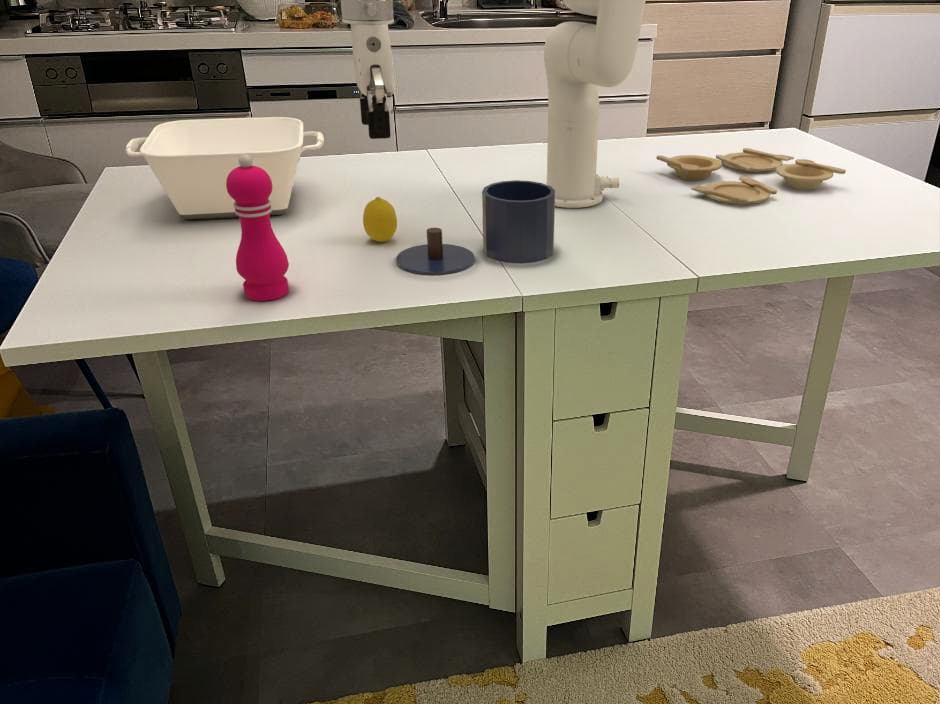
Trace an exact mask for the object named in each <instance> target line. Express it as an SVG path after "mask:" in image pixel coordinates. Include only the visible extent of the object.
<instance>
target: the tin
mask: <svg viewBox="0 0 940 704" xmlns="http://www.w3.org/2000/svg"><path fill="white" fill-rule="evenodd" d="M481 201H482V251H483V253H484V255H485V256H486V257H488V258H490V259H491V260H494V261H497V262H501V263H506V264H521V265H522V264H532V263H538V262H541V261H545V260H547V259H549V258H550V257H551V256H553V255H554V247H555V245H554V244H555V243H554V242H555V217H556V216H555V212H556V210H555V209H556V208H555V207H556V206H555V190H554V189H553V188H552V187H551V186H548V185H547V183H546V184H545V183H543V182H538V181H532V180H519V179H518V180H517V179H516V180H502V181H498V182H493V183H490V184H487V185H485V186H484V187H483V189H482V191H481Z"/></svg>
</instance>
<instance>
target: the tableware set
mask: <svg viewBox="0 0 940 704" xmlns="http://www.w3.org/2000/svg"><path fill="white" fill-rule="evenodd" d="M655 158H656V160H657V161H660V162H664V163H666V165H667V167H669V168H670V169H673V170H674V172H675V174H676V175H677V177H678V178H680V179H683V180H688V181H702V180H705V179H706V180H707V179H708V178H709V177H710V175H711V174H712V172H715V171H718V170H720V169H721V168H722V164H723V165H724V166H726V167H728V168H732V169H735V170H738V171H744V172H751V173H754V172H755V173H761V172H762V173H763V172H770V171H774V170H775V173H776V174H777V175H778V176H780V177H781V178H783V180H784V183H785V185H786V186H787V187H789V188H792V189H796V190H804V191H809V190H815V189H818V188H819V187H820V186H821V184H822V183H823V182H824V181H828V180H831V179H832V178H833V177H834V174H838V175H844V174H846V172H847V170H846V169H845V168H841V167H836V166H831V165H827V164H826V165H825V164H821V163H817V162H815V161H813V160H811V159H805V158H798V159H795V156H790V155H786V154H775V153H770V152H765V151H762V150H758V149H753V148H749V147H744V148H742V151H741V152H731V153H727V154H724V155H722V154H716V155H715V158H714V157H709V156H704V155H698V154H697V155H696V154H683V155H675V156H673V157H668V156H665V155H660V154H658V155H656V157H655ZM794 159H795V161H794V162H795V163H788V164H783V162H789V161H791V160H794ZM690 190H692V191H694V192H697V193H700V194H703V195H705V196H706V197H707V198H710V199H713V200H716V201H719V202H723V203H727V204H735V205H736V204H737V205H747V204H748V205H749V204H756V203H762V202H764V201H766V200H768V199H770V197H771V195H776V194H777V193H778V190H777V189H775V188H773V187H771V186H769V185H767V184H765V183H763V182H761V181H758V180H757V179H755V178H752V177H749V176H746V175H741V176H739V177H738V181H734V180H733V181H731V180H730V181H729V180H725V181H723V180H722V181H716V182H711V183H707V184H706V185H701V184H698V185H695V186H692V187H690Z"/></svg>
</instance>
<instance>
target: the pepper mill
mask: <svg viewBox="0 0 940 704" xmlns="http://www.w3.org/2000/svg"><path fill="white" fill-rule="evenodd" d="M239 164H240V167H237V168H235V169H233V170H232V171H231V172H230V173H229V175H228V177H227V180H226V188H227V192H228V194H229V195H230V196H231V197H232V198H233V199H234V200H235V201H236V202H235V203H234V205H233V206H234V207H235V214H236V215H238V216H239V217H238V219H239V222H240V231H241V236H240V241H239V245H238V248H237V251H236V256H235V268H236V272H237V274H238V276H240V277H241V278H242V279H243V280H244V281H243V282H242V287H243V292H244V296H245V298H247V299H249V300H251V301H256V302H268V301H275V300H279V299H281V298H283V297H285V296H287V295H288V293H289V291H290V287H289V280H288V278H287V277H286V276H285V275H286V273H287V272H288V270H289V267H290V263H289V258H288V256H287V253H286V251H285V249H284V248H283V245H282V244H281V242H280V241H279V239H278V238H277V236H276V234H275V233H274V230H273V227H272V223H271V215H270V213H271V212H272V207H271V201H270V200H269V199H268V198H269V196H270V194H271V193H272V181H271V178H270V176H269V175H268V173H267V172H266V171H265V170H263V169H262V168H260V167H257V166H252V159H251V157H250V156H248V155H242V156H240V157H239Z"/></svg>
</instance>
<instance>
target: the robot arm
mask: <svg viewBox="0 0 940 704" xmlns="http://www.w3.org/2000/svg"><path fill="white" fill-rule="evenodd" d="M646 1H647V0H563V3H564V5H565V6H566V7H567V8H568V9H570V10H571V11H572V12H575V13H577V14H582V15H587V16H592V17H593V16H594V17H596V23H595V24H594V23H587V22H582V21H573V20H572V21H563V22H561V23H559V24H557V25H555V26H554V27H553V28H552V29H551V30H550V32H549V33H548V35H547V36H546V38H545V43H544V46H543V60H544V67H545V74H546V81H547V96H548V98H547V99H548V100H547V101H548V103H547V105H548V107H547V109H548V110H547V147H546V148H547V150H546V151H547V152H546V159H547V160H546V185H548V186H551V187H552V188H553V189H554V190H555V207H557V208H558V207H559V208H567V209H571V208H572V209H578V208H588V207H592V206H596V205H598V204H600V203H601V202H603V198H604V193H603V191H604V190H605V189H618V188H619V187H620V179H619V177H610V178H609V176H608V175H604V176H602V175H601V176H599V175H598V174H597V163H598V161H597V160H598V145H599V144H598V143H599V127H600V126H599V125H600V110H601V109H600V98H599V92H598V89H597V86H598V87H604V88H614V87H617V86H619V85H621V84H622V83H623V82H625V80H626V79H627V78H628V76H629V74H630V73H631V71H632V69H633V65H634V62H635V58H636V54H637V49H638V43H639V38H640V32H641V27H642V24H643V17H644V12H645V8H646ZM340 8H341V9H340V10H341V21H342V23H344V24H346V25H350V34H351V47H352V58H353V59H352V60H353V67H354V68H353V69H354V72H355V73H354V74H355V81H356V86H357V88H358V89H359V94H360V95H359V96H360V98H359V108H360V121H361V124H362V125H363V126H367V127H368V137H369V138H370V139H371V140H377V139H380V140H381V139H390V138H391V135H392V134H391V119H390V117H391V116H390V110H389V104H388V98H387V93H388V95H389V96H393V95H395V79H394V69H393V68H394V67H393V57H392V56H393V55H392V46H391V38H390V30H389V25H392V24H394V23H395V18H394V17H395V15H394V0H340Z"/></svg>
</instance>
